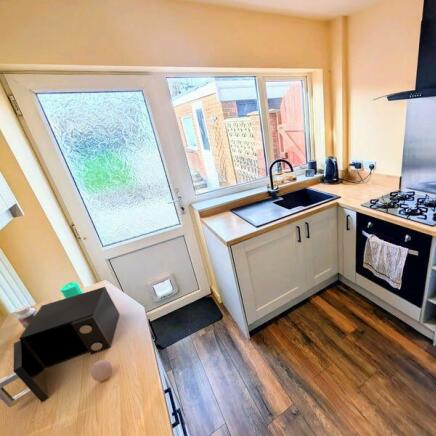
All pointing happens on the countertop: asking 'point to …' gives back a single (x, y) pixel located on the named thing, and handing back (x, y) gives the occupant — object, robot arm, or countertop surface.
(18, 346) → the microwave door
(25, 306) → the pill bottle
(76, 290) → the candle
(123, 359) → the countertop surface
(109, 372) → the egg
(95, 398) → the countertop surface
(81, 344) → the microwave
